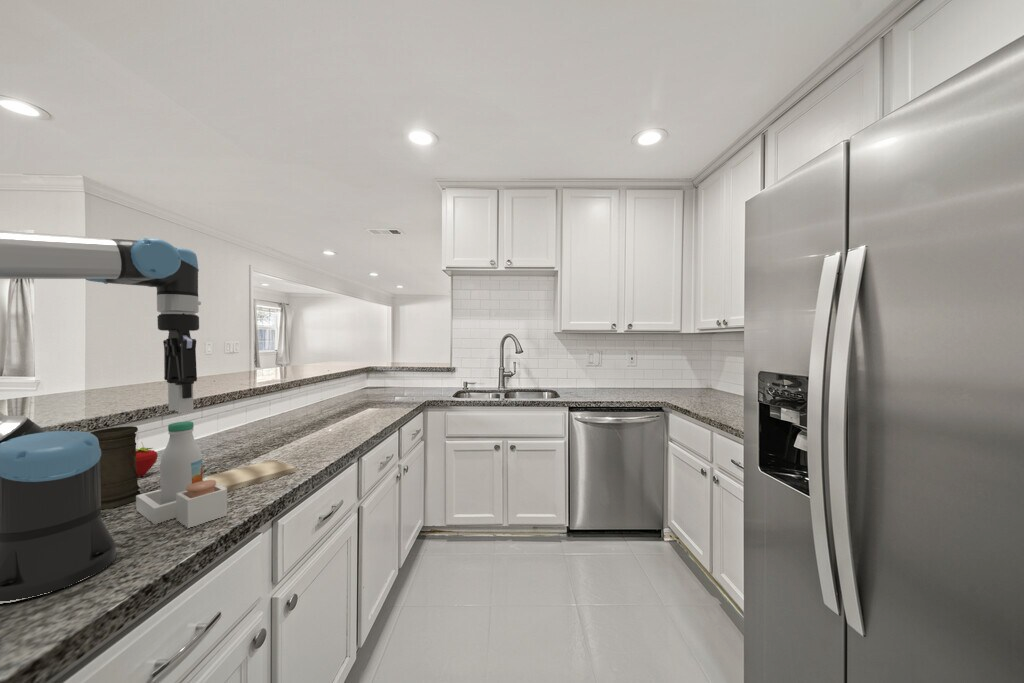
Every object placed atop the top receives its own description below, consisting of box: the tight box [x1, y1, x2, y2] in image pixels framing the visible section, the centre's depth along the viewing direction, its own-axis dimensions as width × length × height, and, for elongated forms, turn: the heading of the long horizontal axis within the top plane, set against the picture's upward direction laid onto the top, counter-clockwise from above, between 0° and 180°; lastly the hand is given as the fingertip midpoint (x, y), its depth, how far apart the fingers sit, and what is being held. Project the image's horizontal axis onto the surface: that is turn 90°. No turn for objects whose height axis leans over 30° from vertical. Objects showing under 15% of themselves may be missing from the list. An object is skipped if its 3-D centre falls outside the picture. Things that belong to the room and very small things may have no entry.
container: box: [90, 425, 142, 510], centre depth 95 cm, size 9×9×18 cm
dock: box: [135, 477, 228, 529], centre depth 90 cm, size 13×22×6 cm, turn 56°
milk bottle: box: [159, 421, 204, 505], centre depth 92 cm, size 8×8×20 cm
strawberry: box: [136, 441, 159, 478], centre depth 114 cm, size 6×8×10 cm
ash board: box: [203, 459, 297, 493], centre depth 112 cm, size 18×14×2 cm
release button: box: [186, 480, 216, 498], centre depth 86 cm, size 5×5×6 cm
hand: (180, 410), depth 92 cm, fingers open, 6 cm apart
